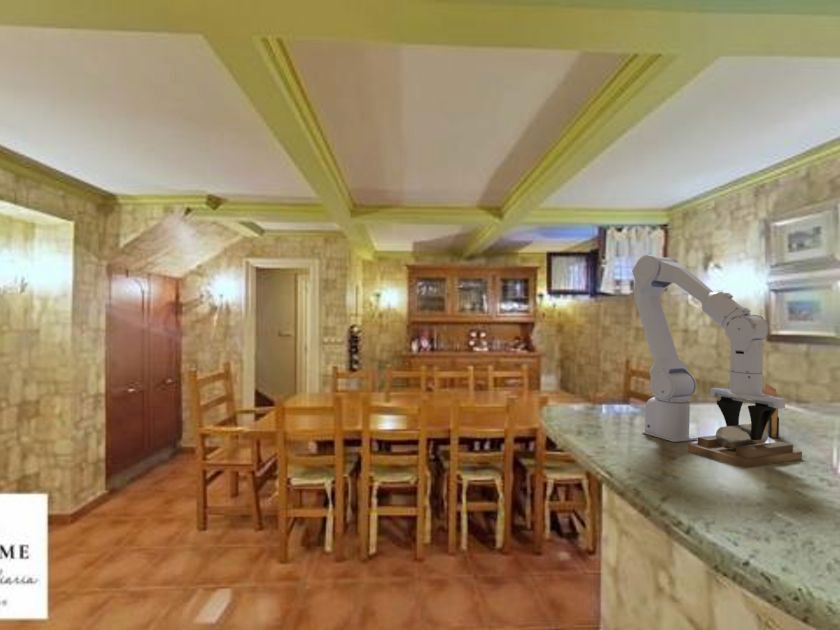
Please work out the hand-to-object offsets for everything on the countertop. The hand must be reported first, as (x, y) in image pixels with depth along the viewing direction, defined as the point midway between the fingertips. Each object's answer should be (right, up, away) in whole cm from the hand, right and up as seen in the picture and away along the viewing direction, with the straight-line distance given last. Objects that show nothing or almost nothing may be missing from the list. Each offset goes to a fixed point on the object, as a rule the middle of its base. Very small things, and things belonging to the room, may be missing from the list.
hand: (744, 436), depth 104 cm
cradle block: (0, -4, 0) cm, 4 cm away
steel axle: (-1, 0, 0) cm, 1 cm away
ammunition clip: (+20, -5, +20) cm, 29 cm away
